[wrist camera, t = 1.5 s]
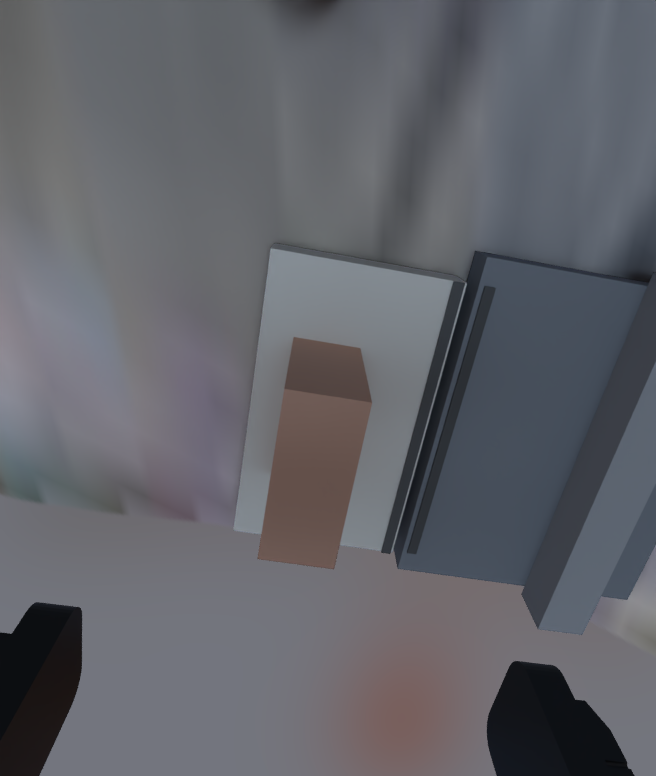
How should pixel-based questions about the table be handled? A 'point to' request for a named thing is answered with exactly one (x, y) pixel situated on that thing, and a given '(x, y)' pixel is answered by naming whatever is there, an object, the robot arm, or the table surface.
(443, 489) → the grey plate with ridge
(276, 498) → the white plate with block
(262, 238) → the table surface
